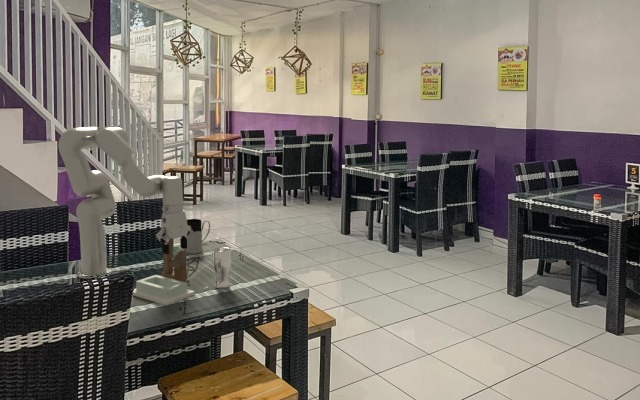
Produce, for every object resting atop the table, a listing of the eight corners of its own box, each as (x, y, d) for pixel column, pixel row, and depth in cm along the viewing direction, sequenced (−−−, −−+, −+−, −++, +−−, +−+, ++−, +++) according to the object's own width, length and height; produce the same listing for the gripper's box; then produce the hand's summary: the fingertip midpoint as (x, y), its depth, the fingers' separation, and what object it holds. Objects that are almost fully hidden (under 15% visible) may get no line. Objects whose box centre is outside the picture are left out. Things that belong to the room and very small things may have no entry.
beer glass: (223, 281, 220) (222, 245, 217) (234, 286, 216) (234, 249, 213) (209, 286, 215) (209, 249, 212) (221, 290, 210) (221, 252, 208)
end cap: (128, 293, 204) (128, 281, 203) (157, 283, 215) (157, 272, 215) (166, 305, 194) (166, 292, 193) (194, 294, 205) (194, 282, 205)
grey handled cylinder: (180, 250, 263) (180, 220, 260) (204, 245, 274) (204, 216, 271) (191, 254, 257) (191, 223, 255) (215, 248, 268) (215, 219, 265)
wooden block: (180, 286, 213) (179, 242, 210) (161, 281, 219) (160, 237, 216) (187, 284, 216) (186, 240, 213) (168, 278, 222) (167, 235, 219)
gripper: (163, 213, 203) (165, 257, 206) (196, 205, 218) (197, 247, 221) (149, 210, 207) (151, 254, 210) (182, 204, 221) (184, 244, 224)
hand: (175, 250), depth 215 cm, fingers open, 9 cm apart
